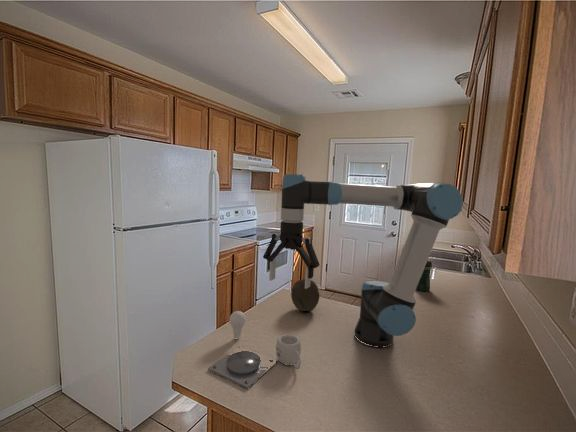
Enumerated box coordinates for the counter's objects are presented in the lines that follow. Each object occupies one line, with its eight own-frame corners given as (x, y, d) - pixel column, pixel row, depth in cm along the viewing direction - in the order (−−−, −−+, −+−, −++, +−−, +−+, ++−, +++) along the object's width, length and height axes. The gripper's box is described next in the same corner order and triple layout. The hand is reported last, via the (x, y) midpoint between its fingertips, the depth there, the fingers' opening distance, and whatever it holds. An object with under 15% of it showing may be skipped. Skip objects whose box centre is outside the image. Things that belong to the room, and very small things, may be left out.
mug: (271, 357, 102) (272, 336, 101) (292, 351, 106) (293, 331, 105) (287, 378, 92) (289, 354, 91) (310, 370, 96) (311, 347, 95)
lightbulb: (227, 336, 115) (228, 309, 114) (242, 333, 117) (243, 307, 116) (230, 344, 109) (231, 316, 108) (246, 341, 112) (247, 313, 111)
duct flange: (277, 362, 99) (277, 357, 99) (247, 389, 86) (247, 383, 85) (240, 347, 107) (240, 342, 107) (207, 370, 94) (208, 364, 93)
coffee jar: (431, 290, 178) (434, 260, 176) (424, 292, 174) (427, 262, 172) (417, 285, 186) (419, 257, 184) (409, 287, 182) (412, 258, 180)
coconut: (325, 312, 140) (326, 282, 139) (301, 319, 132) (303, 287, 131) (306, 302, 152) (308, 274, 150) (284, 307, 144) (285, 278, 142)
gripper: (331, 223, 95) (327, 287, 97) (266, 216, 106) (264, 273, 109) (322, 226, 88) (319, 294, 90) (254, 218, 100) (252, 279, 102)
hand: (289, 283), depth 99 cm, fingers open, 13 cm apart
